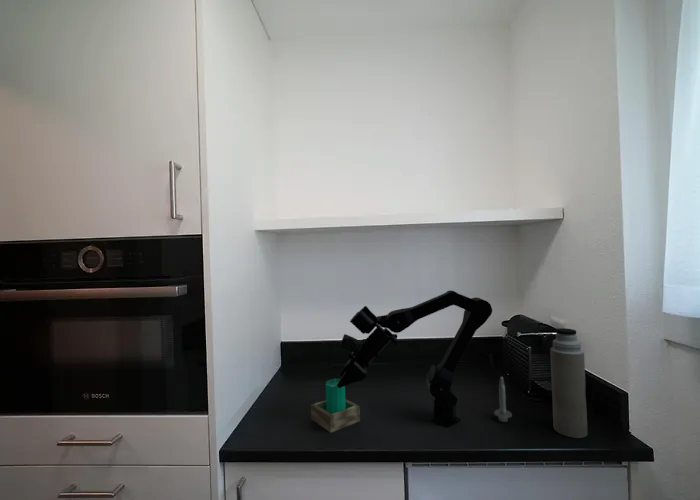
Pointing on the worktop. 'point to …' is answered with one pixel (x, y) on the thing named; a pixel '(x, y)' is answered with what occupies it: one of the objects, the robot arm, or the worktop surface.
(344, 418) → the candle holder
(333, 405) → the candle
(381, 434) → the worktop surface
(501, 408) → the screw
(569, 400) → the thermos bottle
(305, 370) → the worktop surface
